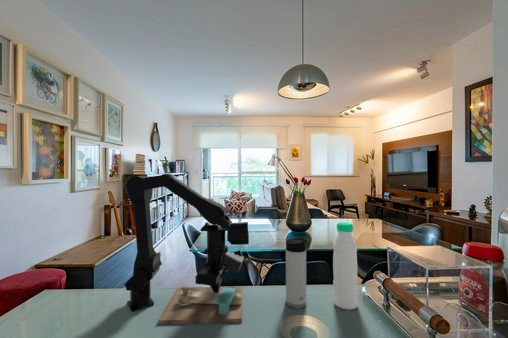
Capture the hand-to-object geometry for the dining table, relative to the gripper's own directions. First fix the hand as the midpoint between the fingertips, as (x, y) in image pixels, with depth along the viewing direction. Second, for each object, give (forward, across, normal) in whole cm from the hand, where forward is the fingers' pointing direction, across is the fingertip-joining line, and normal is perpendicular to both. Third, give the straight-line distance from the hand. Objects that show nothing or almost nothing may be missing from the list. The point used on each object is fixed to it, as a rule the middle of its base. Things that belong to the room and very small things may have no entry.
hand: (216, 294), depth 79 cm
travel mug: (+3, +4, -25) cm, 25 cm away
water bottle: (+3, +6, -39) cm, 40 cm away
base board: (+3, -2, +3) cm, 4 cm away
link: (+1, -2, +1) cm, 3 cm away
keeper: (+1, -4, +2) cm, 5 cm away
